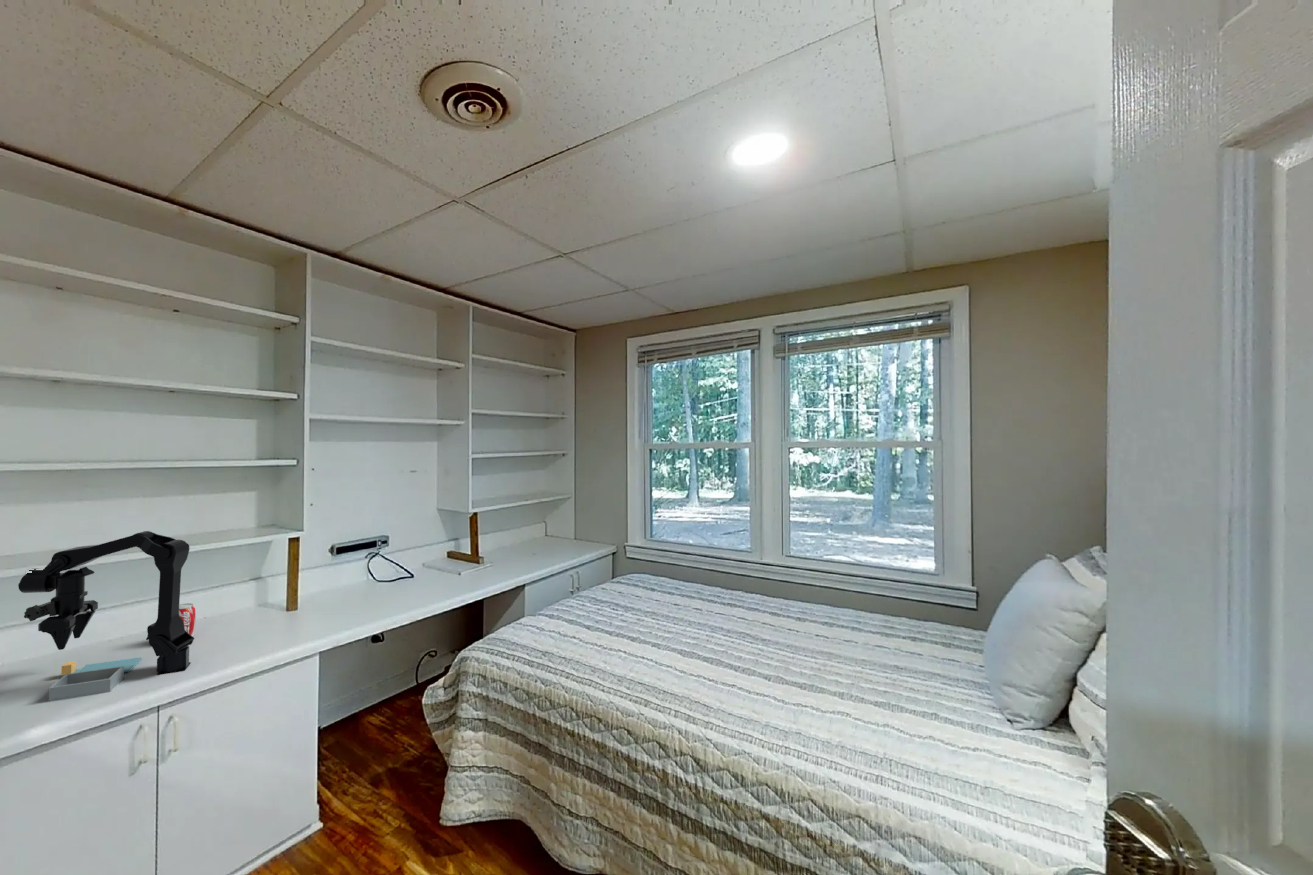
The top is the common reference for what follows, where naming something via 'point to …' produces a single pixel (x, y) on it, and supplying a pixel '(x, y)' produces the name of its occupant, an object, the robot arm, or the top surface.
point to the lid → (100, 666)
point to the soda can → (188, 617)
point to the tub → (86, 683)
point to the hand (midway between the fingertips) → (69, 643)
